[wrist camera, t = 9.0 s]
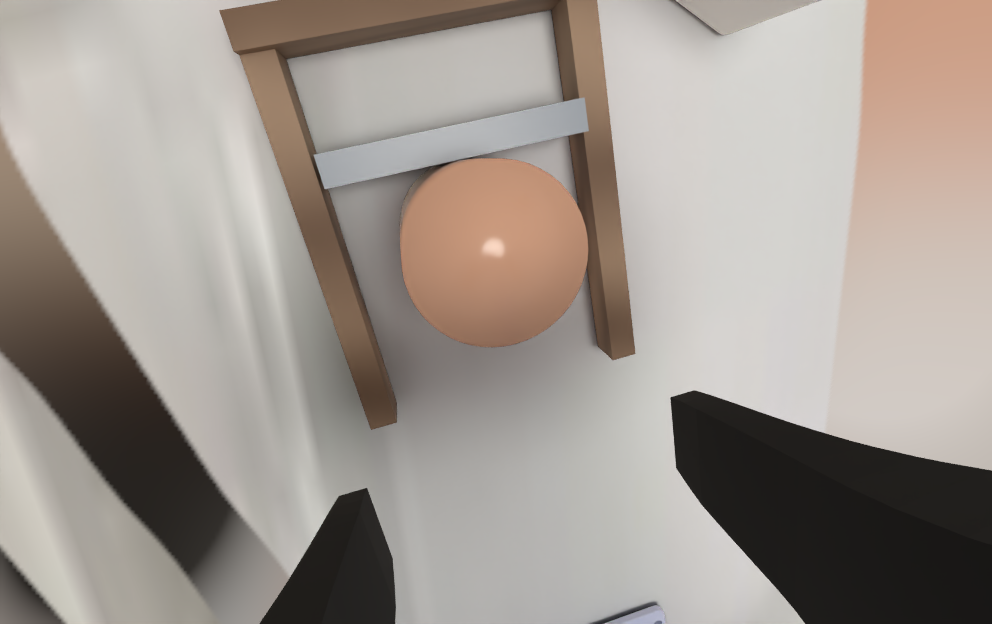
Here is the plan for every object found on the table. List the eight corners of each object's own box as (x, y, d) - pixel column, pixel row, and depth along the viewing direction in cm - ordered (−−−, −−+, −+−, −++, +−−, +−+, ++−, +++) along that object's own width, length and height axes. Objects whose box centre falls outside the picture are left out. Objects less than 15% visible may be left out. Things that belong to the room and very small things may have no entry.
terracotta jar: (539, 273, 19) (598, 321, 13) (418, 304, 18) (428, 367, 13) (516, 145, 17) (574, 139, 12) (383, 174, 17) (376, 183, 11)
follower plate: (562, 134, 17) (588, 131, 15) (334, 184, 16) (324, 189, 14) (558, 105, 17) (584, 97, 15) (325, 155, 16) (313, 154, 14)
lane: (619, 340, 21) (641, 358, 19) (372, 410, 19) (370, 437, 17) (574, -30, 16) (598, -54, 14) (241, 29, 14) (219, 10, 13)
